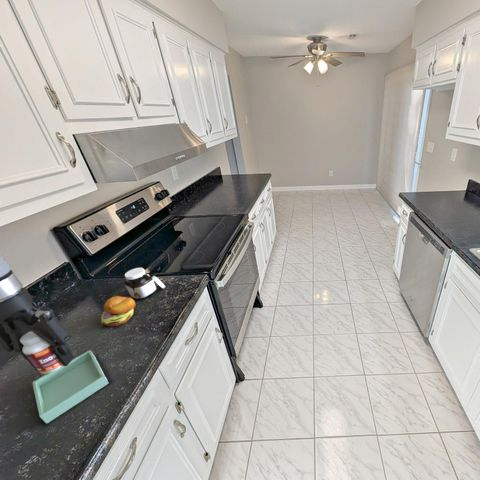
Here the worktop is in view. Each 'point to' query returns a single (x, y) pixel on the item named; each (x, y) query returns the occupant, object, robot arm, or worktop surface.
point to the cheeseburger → (117, 310)
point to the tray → (68, 386)
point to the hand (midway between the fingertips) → (55, 363)
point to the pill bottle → (40, 353)
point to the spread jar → (141, 283)
